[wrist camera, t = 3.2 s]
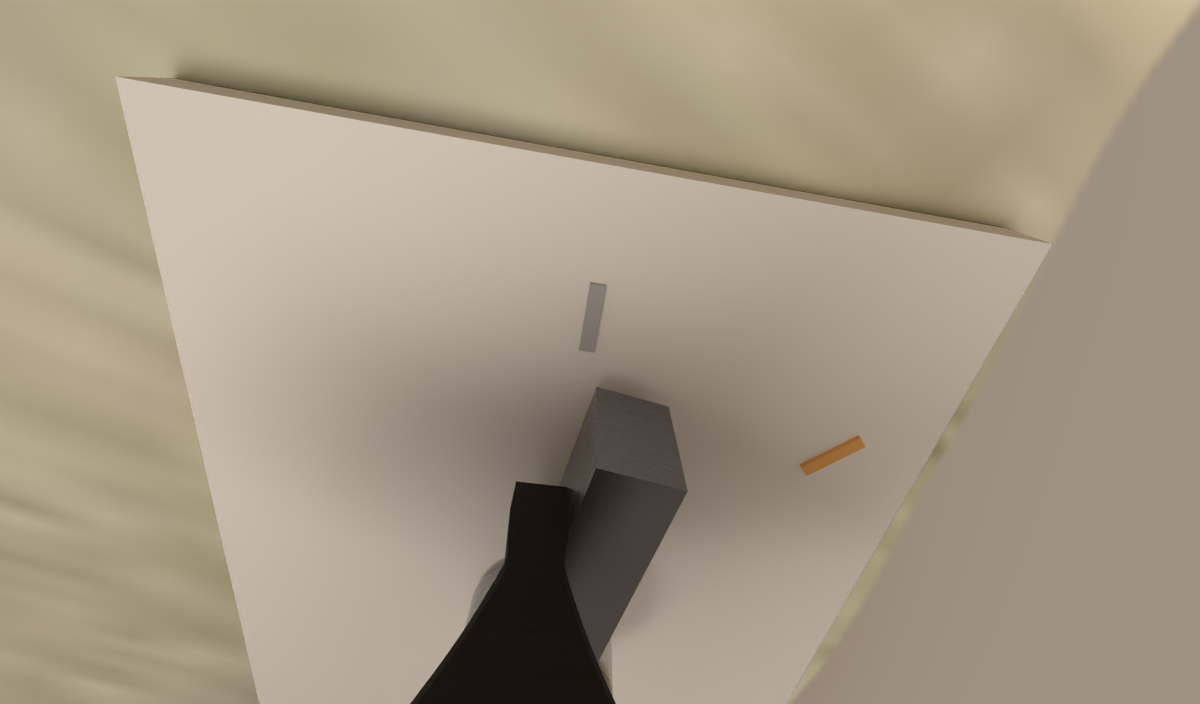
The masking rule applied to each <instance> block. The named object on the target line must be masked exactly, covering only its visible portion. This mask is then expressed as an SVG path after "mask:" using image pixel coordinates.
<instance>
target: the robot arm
mask: <svg viewBox="0 0 1200 704" xmlns="http://www.w3.org/2000/svg"><path fill="white" fill-rule="evenodd" d="M567 541H568V495H567V487H562V486H553V485H545V484H536V483H527V482H518V481H516V484H515V489H514V493H513V498H512V502H511V507H510V514H509V523H508V533H507V542H506V551H505V561H504V564H503V566H502V568H501V570H500V572H499V573H498V575H497V577H496V579H495V580H494V582H493V584H492V585H491V587H490V589H489V590H488V592H487V594H486V595H485V597H484V599H483V600H482V602H481V604H480V605H479V607H478V609H477V610H476V612H475V613H474V615H473V617H472V618H471V620H470V621H469V623H468V624H467V626H466V627H465V629H464V630H463V632H462V633H461V635H460V636H459V638H458V639H457V641H456V642H455V643H454V645H453V646H452V648H451V649H450V651H449V652H448V653H447V655H446V656H445V658H444V659H443V661H442V662H441V663H440V665H439V666H438V667H437V669H436V670H435V671H434V673H433V674H432V675H431V677H430V678H429V679H428V681H427V682H426V683H425V685H424V686H423V687H422V689H421V690H420V691H419V693H418V694H417V695H416V697H415V698H414V699H413V701H412V702H411V703H410V704H616V703H615V701H614V698H613V696H612V694H611V692H610V690H609V687H608V685H607V683H606V681H605V679H604V676H603V674H602V671H601V669H600V667H599V664H598V662H597V660H596V657H595V655H594V652H593V650H592V647H591V645H590V642H589V640H588V637H587V634H586V632H585V629H584V626H583V623H582V620H581V618H580V615H579V612H578V609H577V606H576V603H575V600H574V597H573V594H572V591H571V587H570V584H569V581H568V577H567V574H566V570H565V566H564V560H565V554H566V547H567Z"/></svg>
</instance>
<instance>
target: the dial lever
mask: <svg viewBox="0 0 1200 704" xmlns="http://www.w3.org/2000/svg"><path fill="white" fill-rule="evenodd" d="M559 486H562V487H567V495H568V541H567V547H566V554H565V560H564V566H565V570H566V574H567V577H568V581H569V584H570V587H571V591H572V594H573V597H574V600H575V603H576V606H577V609H578V612H579V615H580V618H581V620H582V623H583V626H584V629H585V632H586V634H587V637H588V640H589V642H590V645H591V647H592V650H593V652H594V655H595V657H596V660H597V662H598V664H599V667H600V669H601V671H602V674H603V676H604V679H605V681H606V683H607V685H608V687H609V690H610V692H611V694H612V696H613V684H612V644H611V636H612V635H613V633H614V631H615V629H616V627H617V625H618V623H619V621H620V619H621V617H622V615H623V614H624V612H625V610H626V608H627V606H628V604H629V602H630V600H631V598H632V596H633V595H634V593H635V591H636V589H637V587H638V585H639V583H640V581H641V579H642V577H643V575H644V574H645V572H646V570H647V568H648V566H649V564H650V562H651V560H652V558H653V556H654V555H655V553H656V551H657V549H658V547H659V545H660V543H661V541H662V539H663V537H664V535H665V534H666V532H667V530H668V528H669V526H670V524H671V522H672V520H673V518H674V516H675V515H676V513H677V511H678V509H679V507H680V505H681V503H682V501H683V499H684V497H685V495H686V494H687V492H688V490H687V486H686V481H685V477H684V472H683V468H682V464H681V459H680V455H679V450H678V446H677V441H676V437H675V432H674V428H673V424H672V419H671V415H670V410H669V407H668V406H665V405H661V404H658V403H654V402H650V401H647V400H643V399H640V398H636V397H632V396H629V395H625V394H622V393H618V392H614V391H611V390H607V389H603V388H600V387H596V389H595V392H594V394H593V397H592V400H591V402H590V405H589V408H588V410H587V413H586V416H585V418H584V421H583V424H582V426H581V429H580V432H579V434H578V437H577V440H576V442H575V445H574V448H573V450H572V453H571V456H570V458H569V461H568V464H567V466H566V469H565V472H564V474H563V477H562V480H561V483H560V485H559ZM501 568H502V567H500V568H498V569H496V570H494V571H493V572H491V573H490V574H488V575H487V576H486V577H484V578H483V580H482V581H481V582H480V583H479V584H478V586H477V587H476V589H475V591H474V593H473V597H472V601H471V605H470V609H469V613H468V617H467V621H466V625H465V627H466V626H467V624H468V623H469V621H470V620H471V618H472V617H473V615H474V613H475V612H476V610H477V609H478V607H479V605H480V604H481V602H482V600H483V599H484V597H485V595H486V594H487V592H488V590H489V589H490V587H491V585H492V584H493V582H494V580H495V579H496V577H497V575H498V573H499V572H500V570H501Z"/></svg>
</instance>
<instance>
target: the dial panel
mask: <svg viewBox="0 0 1200 704" xmlns="http://www.w3.org/2000/svg"><path fill="white" fill-rule="evenodd" d="M116 82H117V86H118V90H119V95H120V99H121V103H122V108H123V112H124V117H125V121H126V125H127V130H128V134H129V138H130V143H131V147H132V151H133V156H134V160H135V164H136V169H137V173H138V178H139V182H140V186H141V191H142V195H143V199H144V204H145V208H146V212H147V217H148V221H149V225H150V230H151V234H152V238H153V243H154V247H155V252H156V256H157V260H158V265H159V269H160V273H161V278H162V282H163V286H164V291H165V295H166V299H167V304H168V308H169V313H170V317H171V321H172V326H173V330H174V334H175V339H176V343H177V347H178V352H179V356H180V360H181V365H182V369H183V374H184V378H185V382H186V387H187V391H188V395H189V400H190V404H191V408H192V413H193V417H194V421H195V426H196V430H197V434H198V439H199V443H200V448H201V452H202V456H203V461H204V465H205V469H206V474H207V478H208V482H209V487H210V491H211V495H212V500H213V504H214V509H215V513H216V517H217V522H218V526H219V530H220V535H221V539H222V543H223V548H224V552H225V556H226V561H227V565H228V570H229V574H230V578H231V583H232V587H233V591H234V596H235V600H236V604H237V609H238V613H239V617H240V622H241V626H242V630H243V635H244V639H245V644H246V648H247V652H248V657H249V661H250V665H251V670H252V674H253V678H254V683H255V687H256V691H257V696H258V700H259V704H410V703H411V702H412V701H413V699H414V698H415V697H416V695H417V694H418V693H419V691H420V690H421V689H422V687H423V686H424V685H425V683H426V682H427V681H428V679H429V678H430V677H431V675H432V674H433V673H434V671H435V670H436V669H437V667H438V666H439V665H440V663H441V662H442V661H443V659H444V658H445V656H446V655H447V653H448V652H449V651H450V649H451V648H452V646H453V645H454V643H455V642H456V641H457V639H458V638H459V636H460V635H461V633H462V632H463V630H464V629H465V625H466V621H467V617H468V613H469V609H470V605H471V601H472V597H473V593H474V591H475V589H476V587H477V586H478V584H479V583H480V582H481V581H482V580H483V578H484V577H486V576H487V575H488V574H490V573H491V572H493V571H494V570H496V569H498V568H500V567H502V566H503V564H504V561H505V551H506V542H507V533H508V523H509V514H510V507H511V502H512V498H513V493H514V489H515V484H516V481H518V482H527V483H536V484H545V485H553V486H559V485H560V483H561V480H562V477H563V474H564V472H565V469H566V466H567V464H568V461H569V458H570V456H571V453H572V450H573V448H574V445H575V442H576V440H577V437H578V434H579V432H580V429H581V426H582V424H583V421H584V418H585V416H586V413H587V410H588V408H589V405H590V402H591V400H592V397H593V394H594V392H595V389H596V387H600V388H603V389H607V390H611V391H614V392H618V393H622V394H625V395H629V396H632V397H636V398H640V399H643V400H647V401H650V402H654V403H658V404H661V405H665V406H668V407H669V410H670V415H671V419H672V424H673V428H674V432H675V437H676V441H677V446H678V450H679V455H680V459H681V464H682V468H683V472H684V477H685V481H686V486H687V490H688V492H687V494H686V495H685V497H684V499H683V501H682V503H681V505H680V507H679V509H678V511H677V513H676V515H675V516H674V518H673V520H672V522H671V524H670V526H669V528H668V530H667V532H666V534H665V535H664V537H663V539H662V541H661V543H660V545H659V547H658V549H657V551H656V553H655V555H654V556H653V558H652V560H651V562H650V564H649V566H648V568H647V570H646V572H645V574H644V575H643V577H642V579H641V581H640V583H639V585H638V587H637V589H636V591H635V593H634V595H633V596H632V598H631V600H630V602H629V604H628V606H627V608H626V610H625V612H624V614H623V615H622V617H621V619H620V621H619V623H618V625H617V627H616V629H615V631H614V633H613V635H612V636H611V644H612V684H613V698H614V701H615V703H616V704H787V702H788V700H789V698H790V697H791V695H792V693H793V692H794V690H795V688H796V686H797V685H798V683H799V681H800V679H801V678H802V676H803V674H804V673H805V671H806V669H807V667H808V666H809V664H810V662H811V660H812V659H813V657H814V655H815V654H816V652H817V650H818V648H819V647H820V645H821V643H822V641H823V640H824V638H825V636H826V635H827V633H828V631H829V629H830V628H831V626H832V624H833V622H834V621H835V619H836V617H837V616H838V614H839V612H840V610H841V609H842V607H843V605H844V603H845V602H846V600H847V598H848V597H849V595H850V593H851V591H852V590H853V588H854V586H855V584H856V583H857V581H858V579H859V578H860V576H861V574H862V572H863V571H864V569H865V567H866V565H867V564H868V562H869V560H870V559H871V557H872V555H873V553H874V552H875V550H876V548H877V546H878V545H879V543H880V541H881V540H882V538H883V536H884V534H885V533H886V531H887V529H888V527H889V526H890V524H891V522H892V521H893V519H894V517H895V515H896V514H897V512H898V510H899V508H900V507H901V505H902V503H903V502H904V500H905V498H906V496H907V495H908V493H909V491H910V489H911V488H912V486H913V484H914V483H915V481H916V479H917V477H918V476H919V474H920V472H921V470H922V469H923V467H924V465H925V464H926V462H927V460H928V458H929V457H930V455H931V453H932V451H933V450H934V448H935V446H936V445H937V443H938V441H939V439H940V438H941V436H942V434H943V432H944V431H945V429H946V427H947V426H948V424H949V422H950V420H951V419H952V417H953V415H954V413H955V412H956V410H957V408H958V407H959V405H960V403H961V401H962V400H963V398H964V396H965V394H966V393H967V391H968V389H969V388H970V386H971V384H972V382H973V381H974V379H975V377H976V375H977V374H978V372H979V370H980V369H981V367H982V365H983V363H984V362H985V360H986V358H987V356H988V355H989V353H990V351H991V350H992V348H993V346H994V344H995V343H996V341H997V339H998V337H999V336H1000V334H1001V332H1002V331H1003V329H1004V327H1005V325H1006V324H1007V322H1008V320H1009V318H1010V317H1011V315H1012V313H1013V312H1014V310H1015V308H1016V306H1017V305H1018V303H1019V301H1020V299H1021V298H1022V296H1023V294H1024V293H1025V291H1026V289H1027V287H1028V286H1029V284H1030V282H1031V280H1032V279H1033V277H1034V275H1035V274H1036V272H1037V270H1038V268H1039V267H1040V265H1041V263H1042V261H1043V260H1044V258H1045V256H1046V255H1047V253H1048V251H1049V249H1050V248H1051V246H1052V244H1050V243H1047V242H1045V241H1042V240H1039V239H1036V238H1033V237H1030V236H1027V235H1024V234H1021V233H1018V232H1015V231H1012V230H1009V229H1006V228H1001V227H995V226H990V225H984V224H979V223H973V222H968V221H962V220H956V219H951V218H945V217H940V216H934V215H929V214H923V213H918V212H912V211H906V210H901V209H895V208H890V207H884V206H879V205H873V204H868V203H862V202H857V201H851V200H845V199H840V198H834V197H829V196H823V195H818V194H812V193H807V192H801V191H795V190H790V189H784V188H779V187H773V186H768V185H762V184H757V183H751V182H746V181H740V180H734V179H729V178H723V177H718V176H712V175H707V174H701V173H696V172H690V171H684V170H679V169H673V168H668V167H662V166H657V165H651V164H646V163H640V162H635V161H629V160H623V159H618V158H612V157H607V156H601V155H596V154H590V153H585V152H579V151H573V150H568V149H562V148H557V147H551V146H546V145H540V144H535V143H529V142H523V141H518V140H512V139H507V138H501V137H496V136H490V135H485V134H479V133H474V132H468V131H462V130H457V129H451V128H446V127H440V126H435V125H429V124H424V123H418V122H412V121H407V120H401V119H396V118H390V117H385V116H379V115H374V114H368V113H363V112H357V111H351V110H346V109H340V108H335V107H329V106H324V105H318V104H313V103H307V102H301V101H296V100H290V99H285V98H279V97H274V96H268V95H263V94H257V93H252V92H246V91H240V90H235V89H229V88H224V87H218V86H213V85H207V84H202V83H196V82H190V81H185V80H179V79H174V78H148V77H116Z"/></svg>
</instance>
